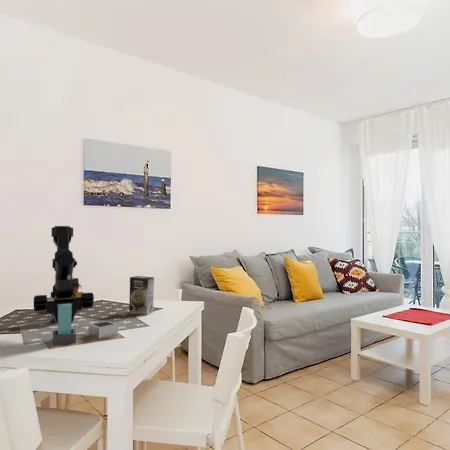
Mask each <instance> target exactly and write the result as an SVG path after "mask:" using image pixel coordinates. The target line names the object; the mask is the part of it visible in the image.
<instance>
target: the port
mask: <svg viewBox="0 0 450 450" xmlns="http://www.w3.org/2000/svg"><path fill="white" fill-rule="evenodd" d="M88 333H89V334H88V336H91V337H93V338H95V339H98V340H101V339H105V338H110V337H115V336H118V333H119V324H118V323H115V322H112V321H109V320H104V321H98V322H92V323H88Z"/></svg>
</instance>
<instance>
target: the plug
mask: <svg viewBox="0 0 450 450" xmlns="http://www.w3.org/2000/svg"><path fill="white" fill-rule="evenodd" d="M71 315H72V305H71V303H69V304H58V325H57V330H58V333H57V335H62V334H71V329H72V323H71Z"/></svg>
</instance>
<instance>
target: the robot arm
mask: <svg viewBox="0 0 450 450" xmlns="http://www.w3.org/2000/svg"><path fill="white" fill-rule="evenodd" d="M51 237H52V238H53V239H52V242H53V244H54V245H55V247H56V251H55V252H54V258H52V264H51V265H52V266H51V267H52V269H54V270H53V271H54V272H55V275H54V280H55V281H54V285H53V286H52V291H50V296H49V297H48V295H47V294H38V295H35V296H34V297H33V311H34V312H44V311H45V312H46V313H49V314H50V315H51V317H52V319H50V320H49V322H51V323H55V324H56V325H57V326H58V304H69V303H71V305H72V306H73V307H72V310H71V324H73V322H74V320H75V317H76V315H77V314H78V312H79V311H82V310H83V309H82V308H84V309H90V308H93V306H94V300H95V296H94V295H95V294H94V293H93V292H83V293H81V297H76V298H75V294H74V289H76V288H78V287H79V288H80V286H79V284H80V283H79V278H78V277H77V278H76V277H73V273H74V269H75V268H76V266H77V265H78V261H77V260H76V259H75V258H74V255H73V252H72V251H71V250H70V243H71V241H72V238H74V227H72V226H70V225H54V227H51Z"/></svg>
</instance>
